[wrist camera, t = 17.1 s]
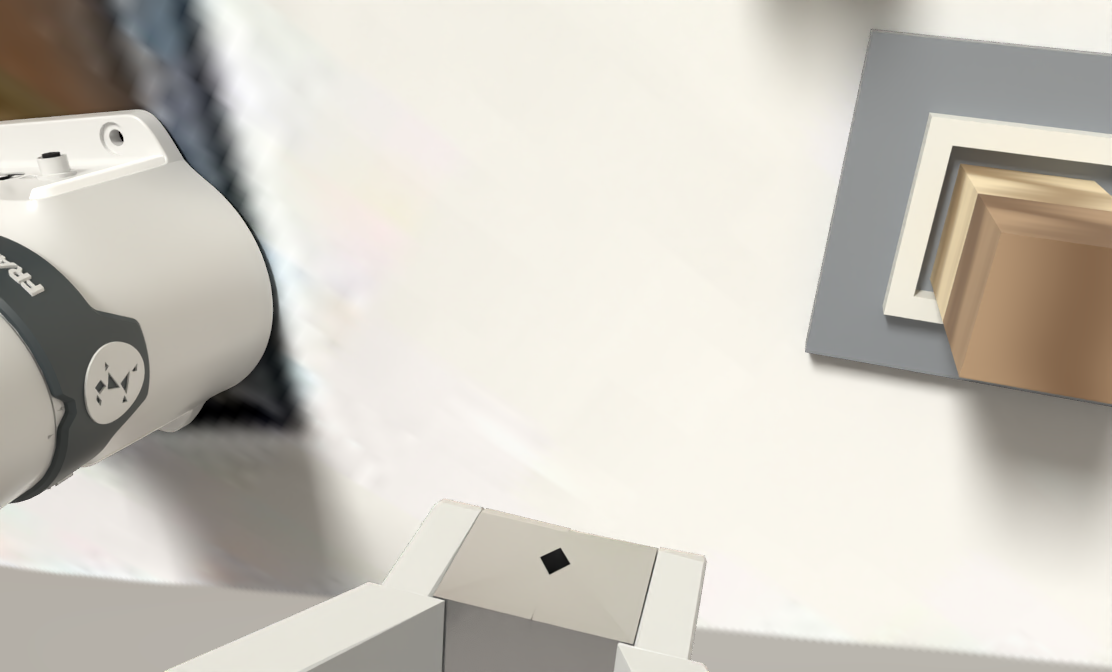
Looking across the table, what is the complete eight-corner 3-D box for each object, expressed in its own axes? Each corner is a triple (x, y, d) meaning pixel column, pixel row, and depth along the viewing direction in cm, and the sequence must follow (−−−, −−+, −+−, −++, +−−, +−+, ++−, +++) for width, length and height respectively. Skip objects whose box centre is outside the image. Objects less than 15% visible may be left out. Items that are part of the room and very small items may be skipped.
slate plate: (805, 341, 43) (804, 360, 41) (871, 29, 37) (873, 34, 35) (1133, 399, 40) (1148, 422, 38) (1259, 69, 34) (1285, 76, 32)
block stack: (929, 279, 39) (959, 377, 30) (960, 163, 37) (1001, 232, 28) (1056, 298, 38) (1124, 406, 29) (1094, 180, 36) (1181, 258, 27)
